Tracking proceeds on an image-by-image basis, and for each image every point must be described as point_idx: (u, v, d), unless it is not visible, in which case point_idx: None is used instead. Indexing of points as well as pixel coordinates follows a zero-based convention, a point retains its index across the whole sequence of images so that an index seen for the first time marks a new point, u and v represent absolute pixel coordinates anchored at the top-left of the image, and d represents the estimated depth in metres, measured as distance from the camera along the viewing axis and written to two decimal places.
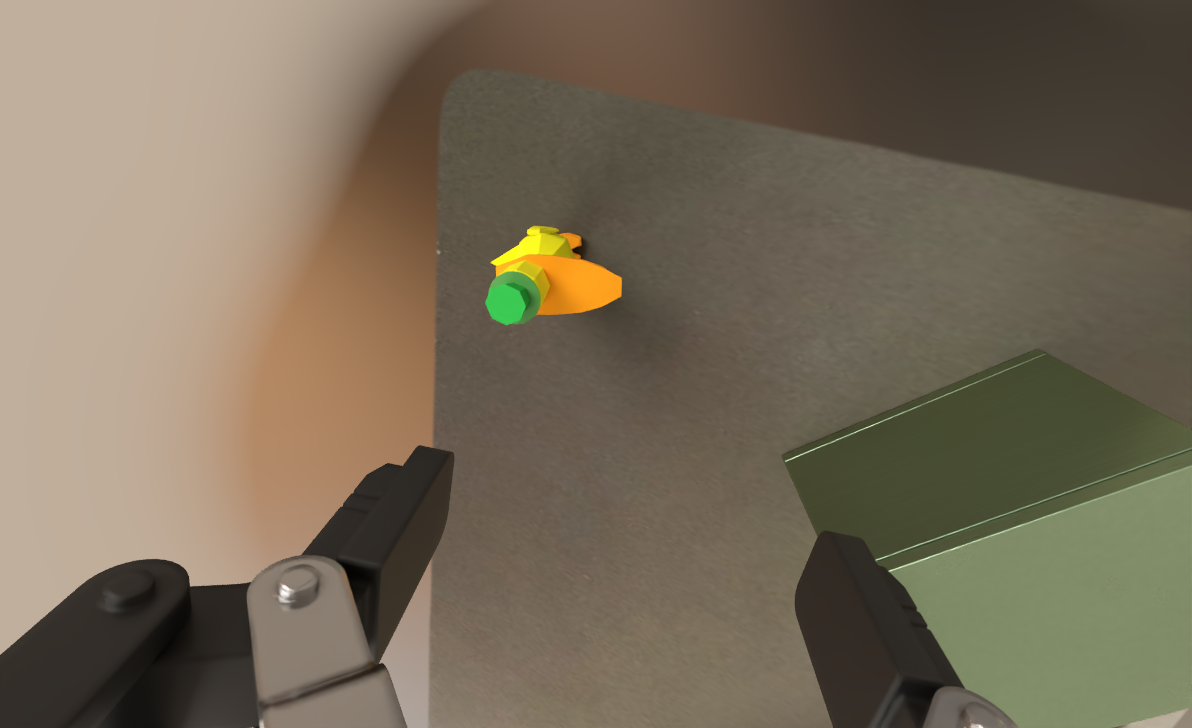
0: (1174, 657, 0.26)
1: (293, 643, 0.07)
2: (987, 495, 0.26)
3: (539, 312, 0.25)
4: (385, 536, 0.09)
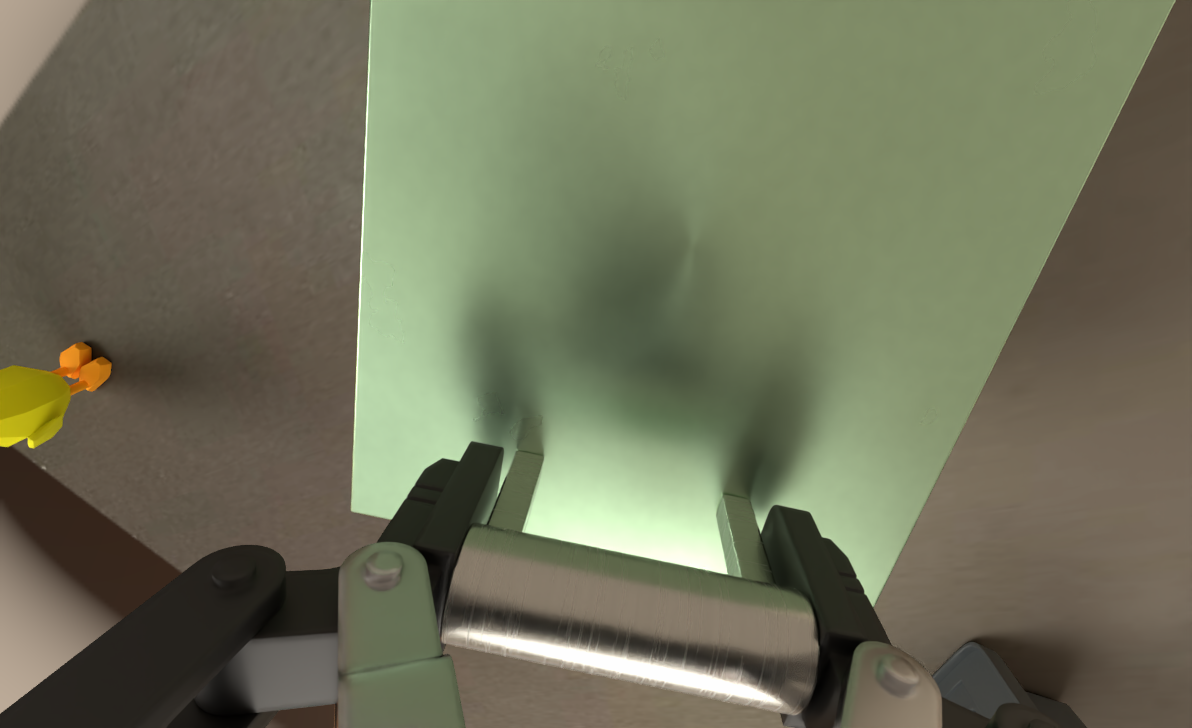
0: (939, 30, 0.10)
1: (373, 622, 0.07)
2: None
3: None
4: (454, 525, 0.10)
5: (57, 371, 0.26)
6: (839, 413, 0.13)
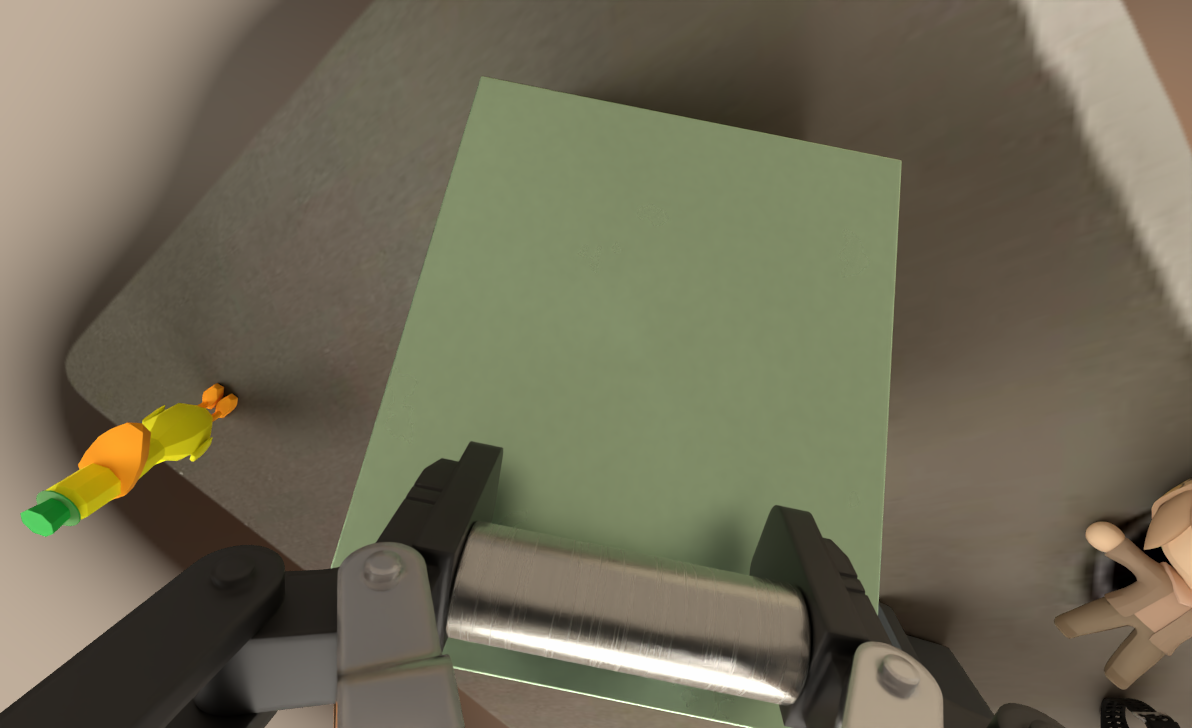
0: (778, 243, 0.17)
1: (372, 623, 0.07)
2: None
3: (127, 488, 0.29)
4: (453, 526, 0.10)
5: (201, 405, 0.36)
6: (782, 499, 0.15)
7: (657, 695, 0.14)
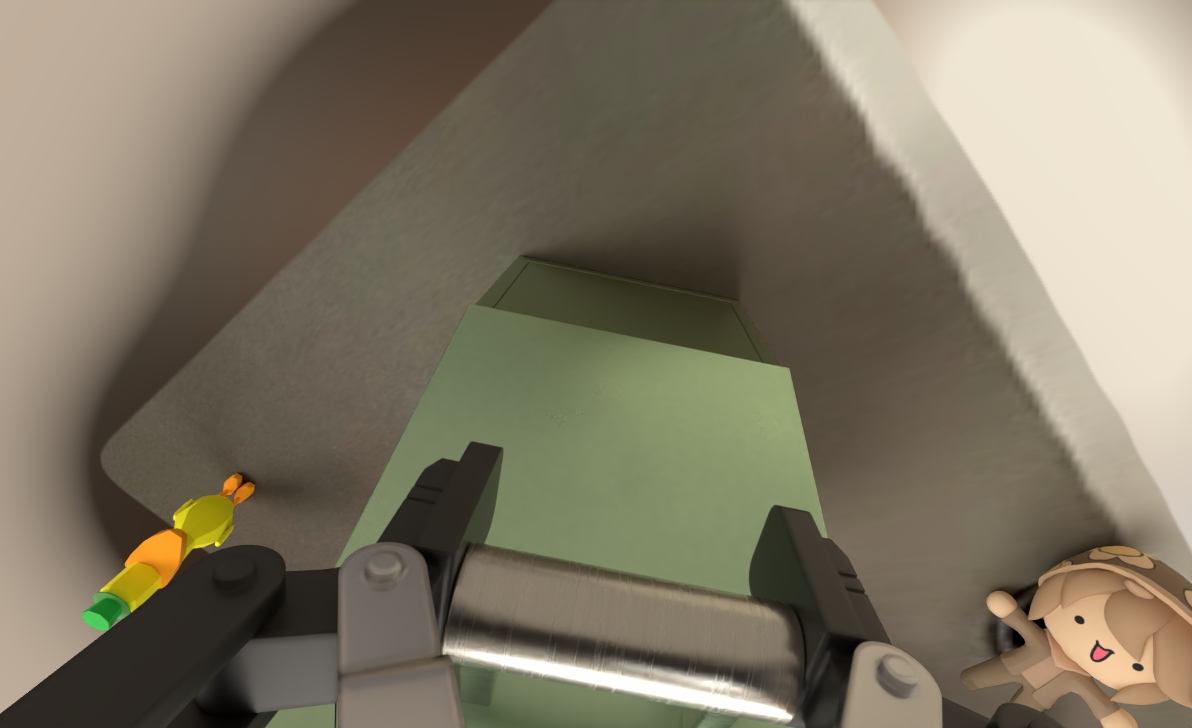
0: (709, 415, 0.21)
1: (373, 622, 0.07)
2: None
3: (166, 582, 0.34)
4: (453, 525, 0.10)
5: (223, 493, 0.41)
6: None
7: None
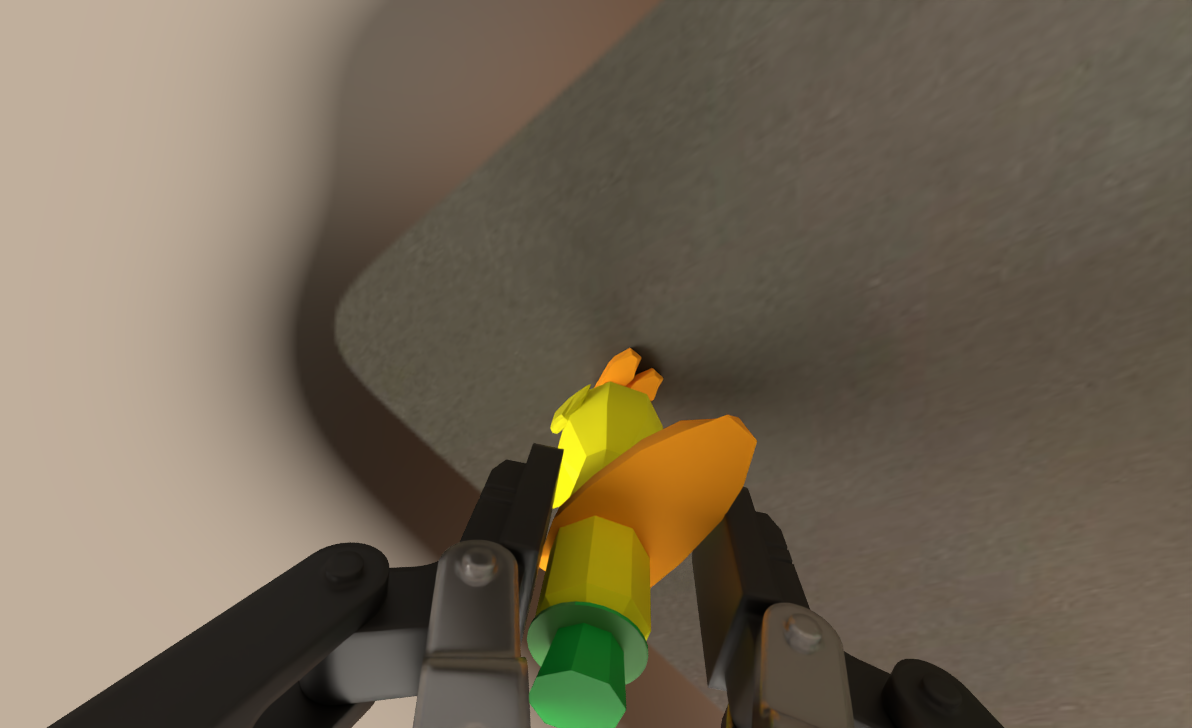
0: None
1: (462, 614, 0.08)
2: None
3: (659, 576, 0.12)
4: (533, 524, 0.10)
5: None
6: None
7: None
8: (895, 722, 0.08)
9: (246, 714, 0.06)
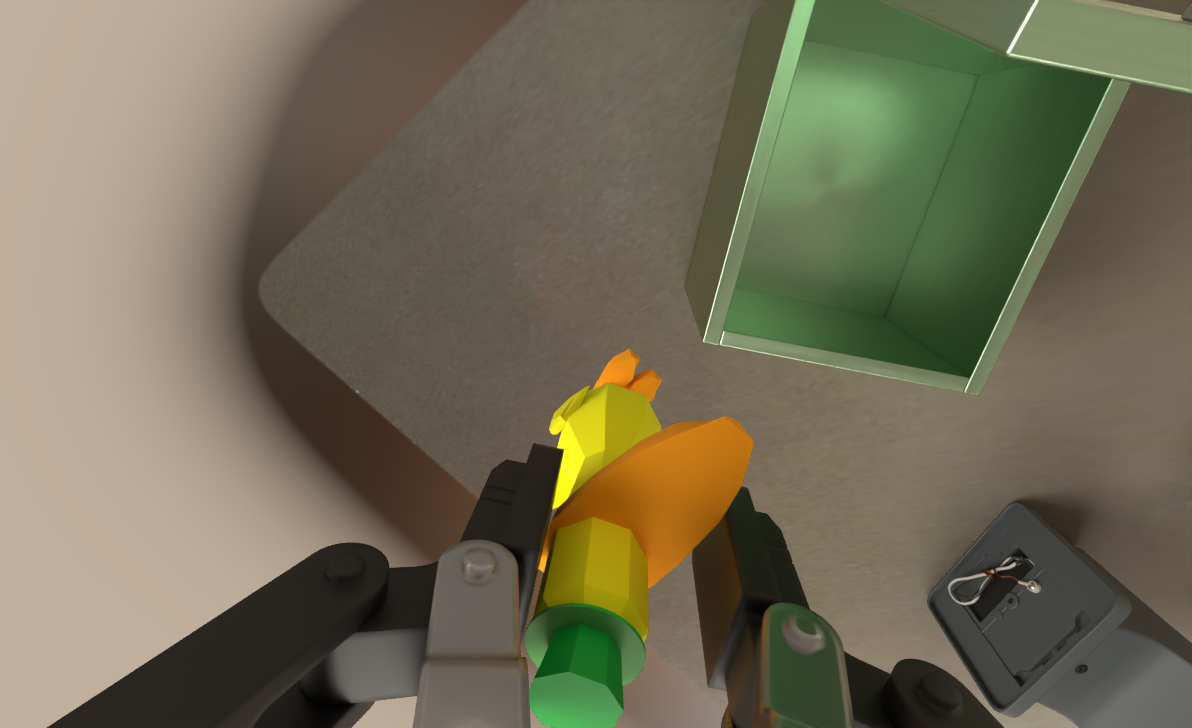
0: None
1: (462, 614, 0.08)
2: (741, 175, 0.26)
3: (657, 577, 0.12)
4: (533, 524, 0.10)
5: None
6: None
7: None
8: (895, 722, 0.08)
9: (246, 714, 0.06)
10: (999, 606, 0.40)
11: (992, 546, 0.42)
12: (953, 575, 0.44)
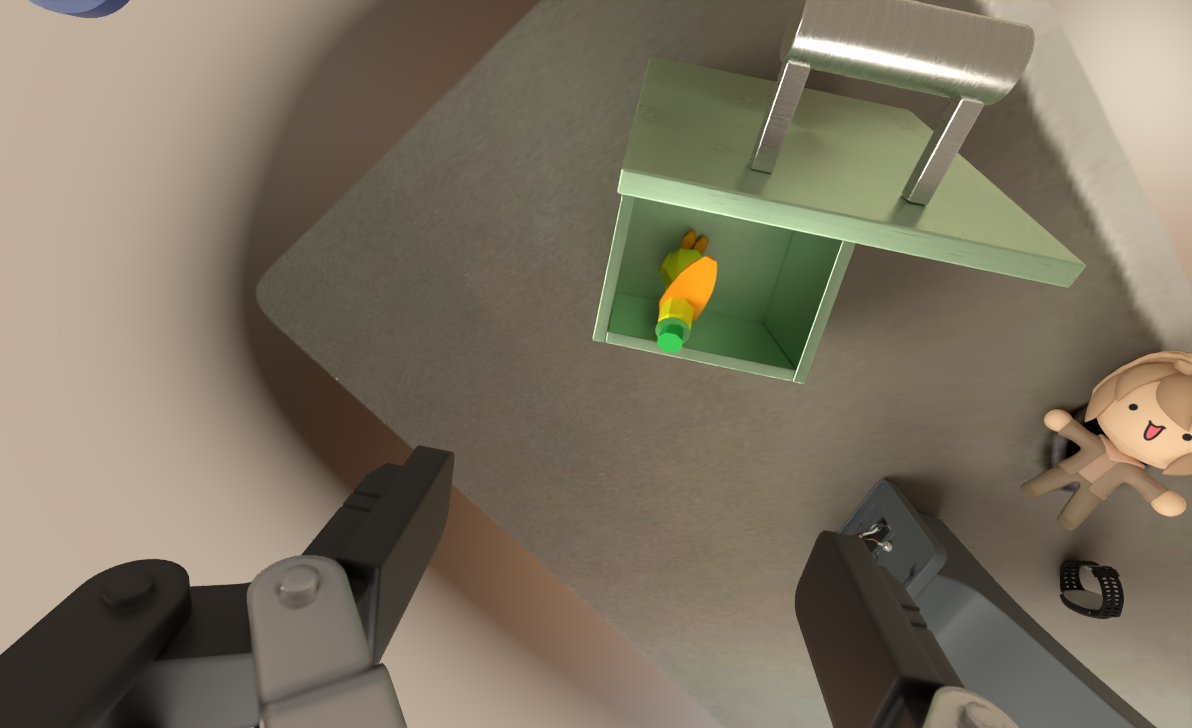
0: (859, 115, 0.26)
1: (293, 643, 0.07)
2: None
3: (698, 313, 0.36)
4: (385, 536, 0.09)
5: None
6: None
7: (906, 223, 0.16)
8: None
9: None
10: None
11: (865, 515, 0.50)
12: None
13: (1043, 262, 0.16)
